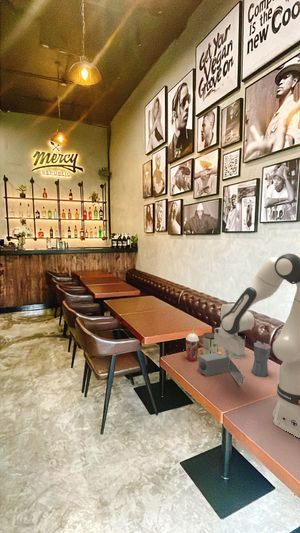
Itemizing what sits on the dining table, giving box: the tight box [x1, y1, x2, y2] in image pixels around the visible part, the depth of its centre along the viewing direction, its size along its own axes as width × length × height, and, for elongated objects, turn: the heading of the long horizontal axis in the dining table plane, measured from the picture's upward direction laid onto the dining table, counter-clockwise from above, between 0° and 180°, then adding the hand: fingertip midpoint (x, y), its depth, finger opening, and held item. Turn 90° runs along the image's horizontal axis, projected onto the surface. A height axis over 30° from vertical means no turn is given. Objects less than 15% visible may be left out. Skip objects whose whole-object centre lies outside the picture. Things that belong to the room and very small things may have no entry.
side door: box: [229, 358, 246, 387], centre depth 150 cm, size 2×21×8 cm, turn 2°
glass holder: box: [232, 332, 246, 360], centre depth 185 cm, size 9×14×15 cm, turn 29°
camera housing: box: [197, 351, 230, 377], centre depth 161 cm, size 8×17×10 cm, turn 114°
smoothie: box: [185, 328, 200, 362], centre depth 175 cm, size 8×8×20 cm
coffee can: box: [201, 332, 219, 355], centre depth 183 cm, size 10×10×14 cm
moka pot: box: [251, 339, 272, 378], centre depth 159 cm, size 10×15×20 cm, turn 11°
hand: (228, 357), depth 147 cm, fingers closed
